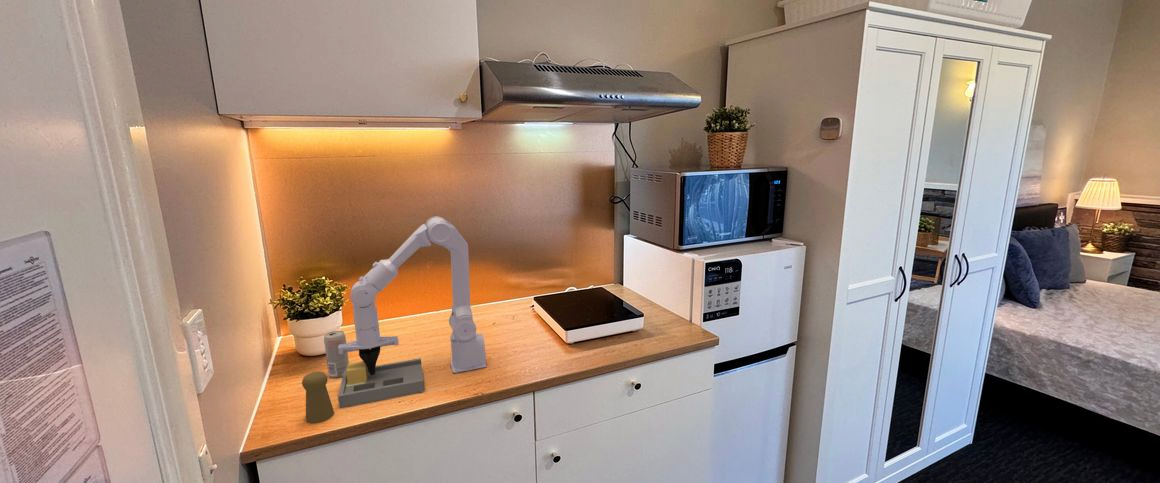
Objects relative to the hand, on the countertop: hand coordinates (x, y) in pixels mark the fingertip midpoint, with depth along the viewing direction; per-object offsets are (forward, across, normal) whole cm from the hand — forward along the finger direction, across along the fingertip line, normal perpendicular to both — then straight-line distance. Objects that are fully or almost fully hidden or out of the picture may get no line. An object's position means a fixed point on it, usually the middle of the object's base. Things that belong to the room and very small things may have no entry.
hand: (372, 373), depth 126 cm
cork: (+3, +11, +12) cm, 17 cm away
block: (+1, +4, 0) cm, 4 cm away
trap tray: (+3, -3, +3) cm, 5 cm away
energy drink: (+3, +9, -10) cm, 14 cm away
